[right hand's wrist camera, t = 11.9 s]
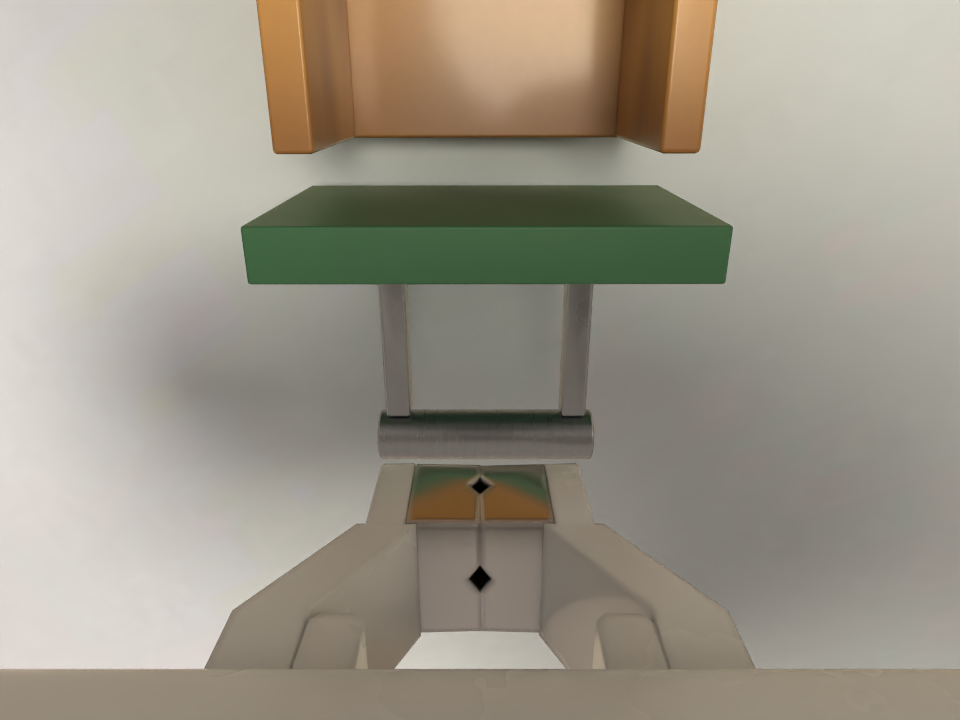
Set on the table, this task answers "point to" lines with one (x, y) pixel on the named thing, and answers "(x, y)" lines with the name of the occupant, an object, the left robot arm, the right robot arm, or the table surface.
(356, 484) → the table surface
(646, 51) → the drawer
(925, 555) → the table surface
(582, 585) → the right robot arm
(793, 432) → the table surface
